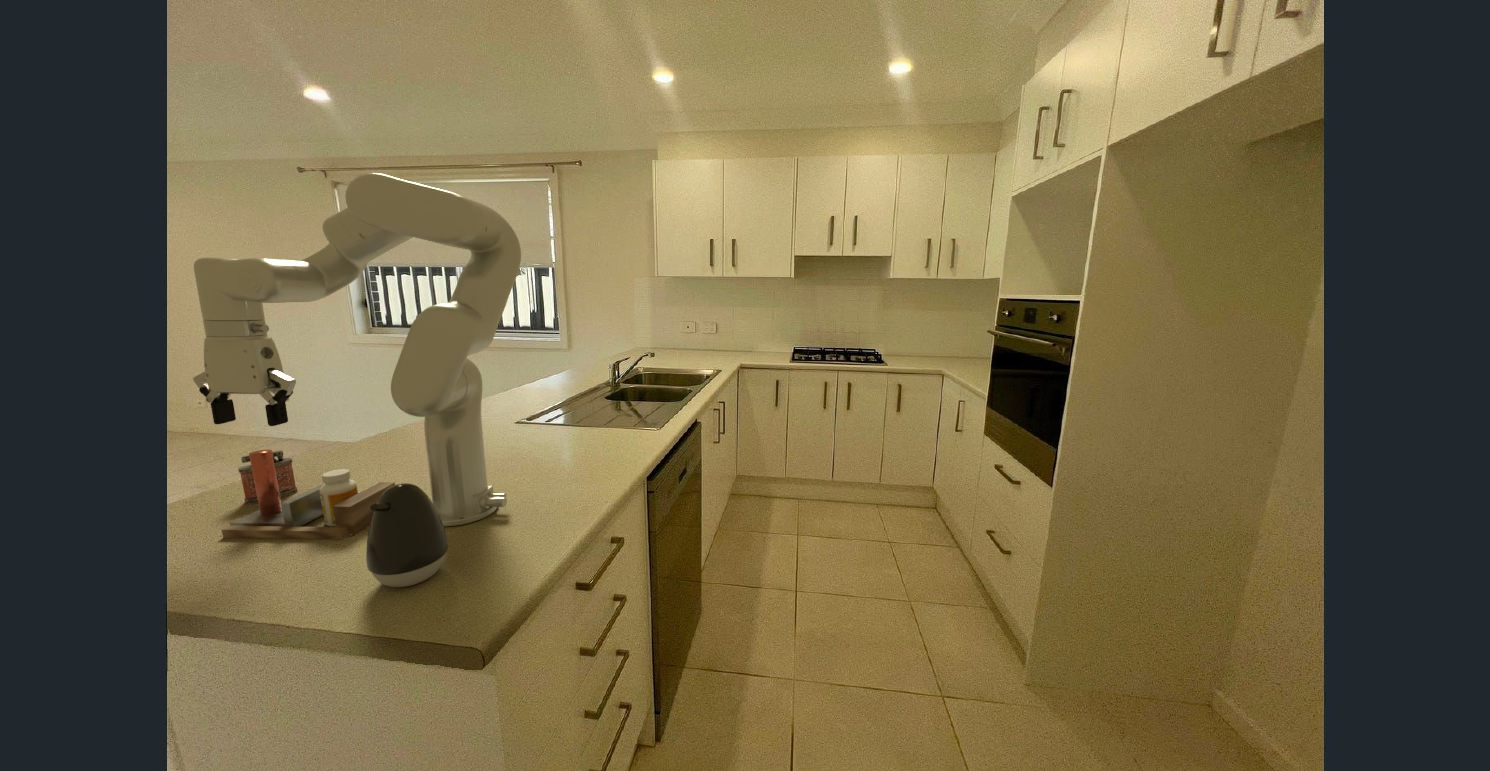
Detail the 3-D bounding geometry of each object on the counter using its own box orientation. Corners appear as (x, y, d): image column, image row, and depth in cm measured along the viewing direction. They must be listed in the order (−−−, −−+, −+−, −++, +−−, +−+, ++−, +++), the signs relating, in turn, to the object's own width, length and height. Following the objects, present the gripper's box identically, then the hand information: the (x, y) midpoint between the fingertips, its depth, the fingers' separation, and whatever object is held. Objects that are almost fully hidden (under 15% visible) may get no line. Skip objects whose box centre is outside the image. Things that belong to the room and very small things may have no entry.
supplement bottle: (368, 514, 93) (362, 468, 91) (343, 527, 88) (335, 478, 86) (343, 513, 94) (336, 466, 92) (317, 526, 88) (308, 477, 87)
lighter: (295, 488, 105) (287, 445, 103) (299, 492, 103) (291, 448, 101) (243, 501, 98) (234, 455, 96) (246, 505, 96) (237, 458, 94)
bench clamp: (403, 504, 98) (400, 479, 97) (347, 539, 84) (342, 510, 83) (296, 503, 98) (292, 478, 97) (223, 537, 84) (217, 508, 83)
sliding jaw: (335, 507, 95) (325, 445, 93) (293, 529, 86) (281, 461, 84) (278, 507, 95) (267, 444, 93) (230, 529, 86) (216, 460, 84)
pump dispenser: (350, 596, 68) (335, 498, 65) (405, 557, 78) (393, 470, 76) (419, 600, 68) (406, 501, 65) (464, 560, 78) (455, 473, 75)
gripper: (304, 330, 88) (317, 419, 91) (211, 326, 87) (226, 416, 91) (264, 333, 80) (279, 430, 83) (161, 329, 80) (180, 427, 83)
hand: (252, 423), depth 87 cm, fingers open, 9 cm apart
